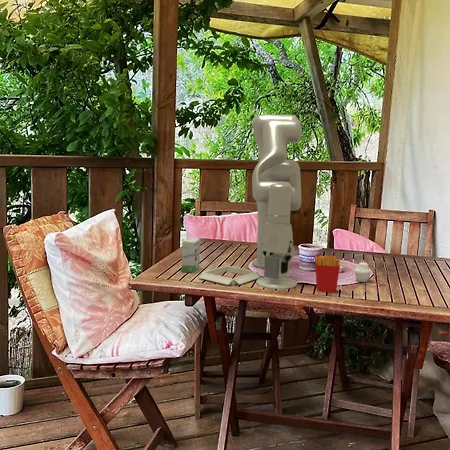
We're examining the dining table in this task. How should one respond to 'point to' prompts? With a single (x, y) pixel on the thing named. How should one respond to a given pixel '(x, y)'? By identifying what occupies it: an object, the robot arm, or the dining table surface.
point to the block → (274, 266)
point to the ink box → (190, 254)
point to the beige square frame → (246, 277)
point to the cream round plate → (276, 283)
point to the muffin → (362, 272)
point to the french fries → (327, 273)
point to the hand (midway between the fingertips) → (277, 271)
